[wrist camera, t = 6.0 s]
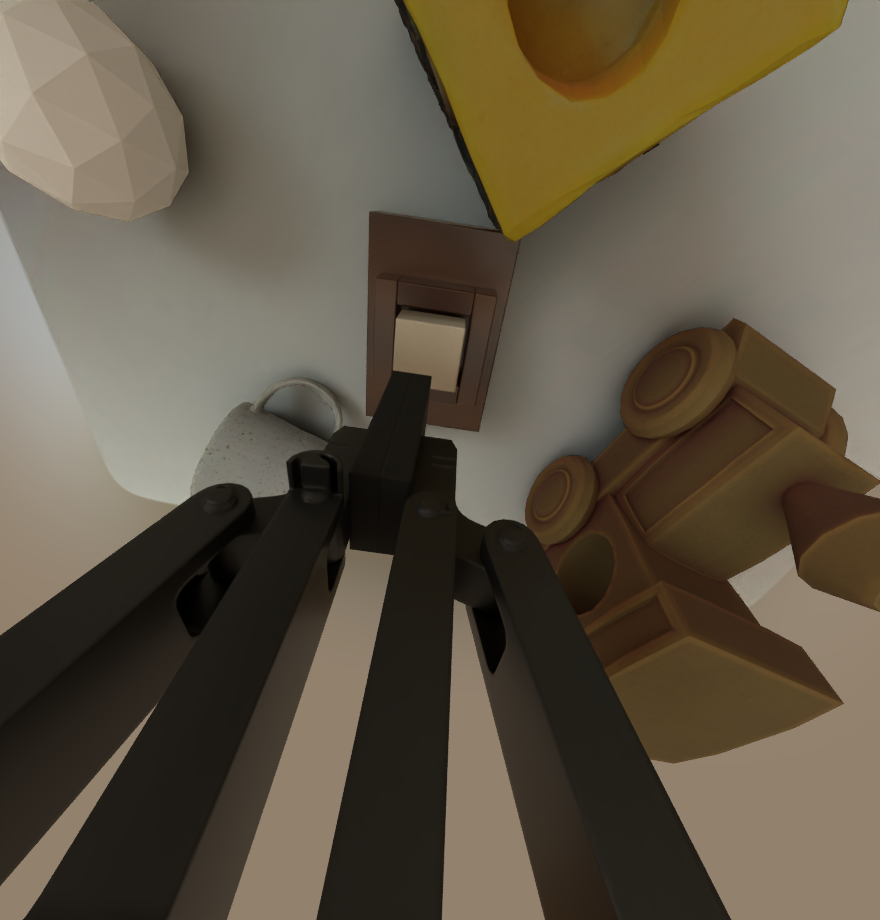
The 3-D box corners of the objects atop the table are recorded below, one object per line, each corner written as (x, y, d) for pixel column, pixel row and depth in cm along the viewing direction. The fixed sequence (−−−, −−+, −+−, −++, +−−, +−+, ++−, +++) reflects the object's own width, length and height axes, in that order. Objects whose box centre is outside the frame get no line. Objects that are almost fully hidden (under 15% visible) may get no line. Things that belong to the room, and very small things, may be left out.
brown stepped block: (377, 210, 21) (360, 211, 18) (517, 232, 21) (526, 237, 18) (372, 402, 28) (359, 428, 25) (478, 417, 28) (479, 445, 25)
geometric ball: (213, 159, 23) (219, 248, 19) (56, 162, 21) (35, 260, 18) (137, -48, 16) (128, 39, 13) (-107, -71, 14) (-187, 23, 11)
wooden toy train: (602, 554, 35) (685, 775, 22) (500, 506, 33) (522, 722, 19) (813, 381, 25) (1230, 599, 11) (688, 291, 22) (1030, 431, 9)
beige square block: (401, 308, 21) (395, 318, 19) (466, 318, 21) (465, 328, 19) (397, 370, 23) (391, 384, 21) (456, 379, 23) (455, 393, 21)
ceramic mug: (326, 496, 33) (294, 563, 27) (235, 457, 32) (176, 519, 25) (372, 402, 28) (345, 458, 22) (265, 348, 26) (201, 392, 20)
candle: (623, -229, 13) (876, -934, 5) (686, 101, 18) (872, 15, 10) (391, 5, 17) (316, -185, 9) (494, 231, 21) (509, 249, 13)
